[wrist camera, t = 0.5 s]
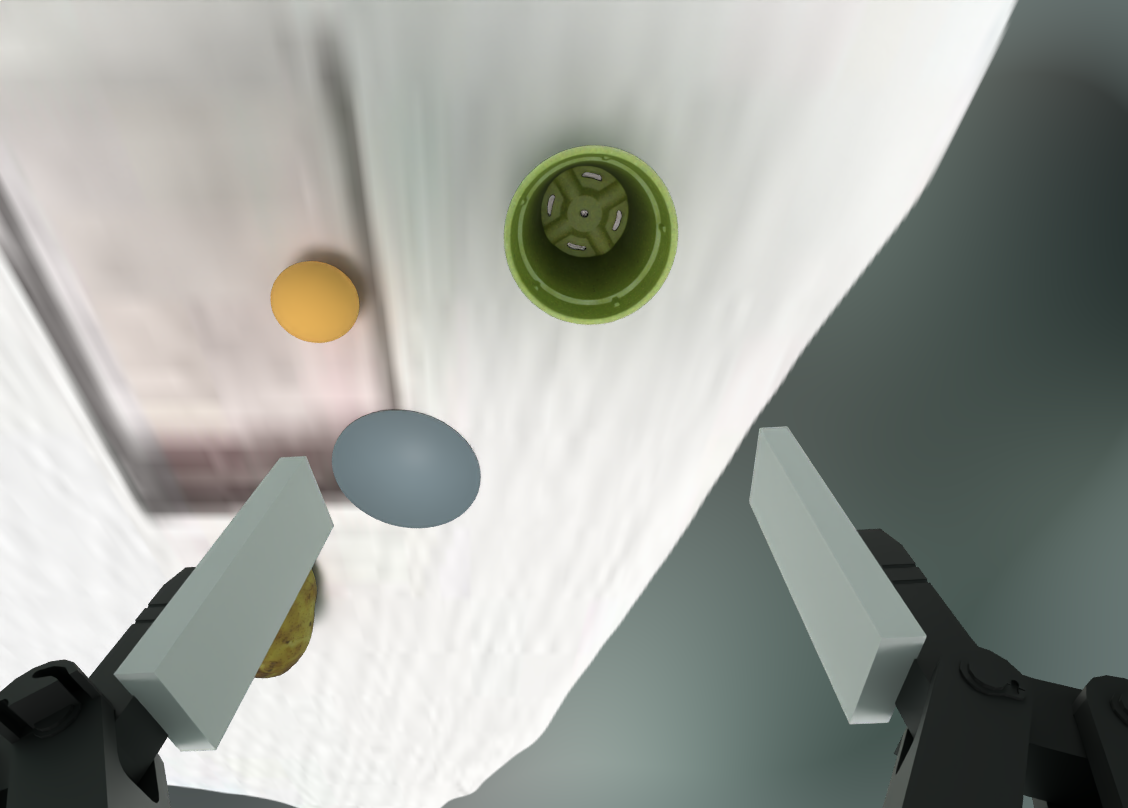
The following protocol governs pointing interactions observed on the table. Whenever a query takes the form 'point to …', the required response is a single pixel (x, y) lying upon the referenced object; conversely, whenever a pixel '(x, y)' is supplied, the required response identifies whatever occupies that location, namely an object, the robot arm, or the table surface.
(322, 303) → the ball
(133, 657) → the robot arm
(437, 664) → the table surface
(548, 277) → the plant pot
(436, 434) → the disc
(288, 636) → the potato
